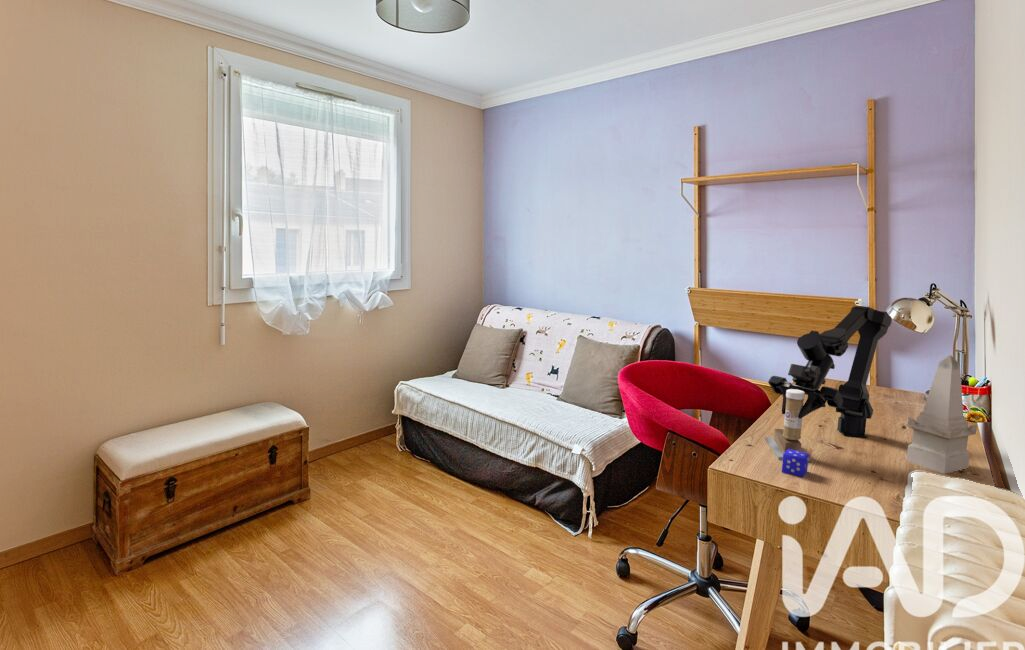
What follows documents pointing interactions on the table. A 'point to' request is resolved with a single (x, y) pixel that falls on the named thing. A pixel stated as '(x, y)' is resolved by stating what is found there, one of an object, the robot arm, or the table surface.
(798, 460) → the die
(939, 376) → the miniature monument
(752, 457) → the table surface
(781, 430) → the ridge
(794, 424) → the spice jar
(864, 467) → the table surface
